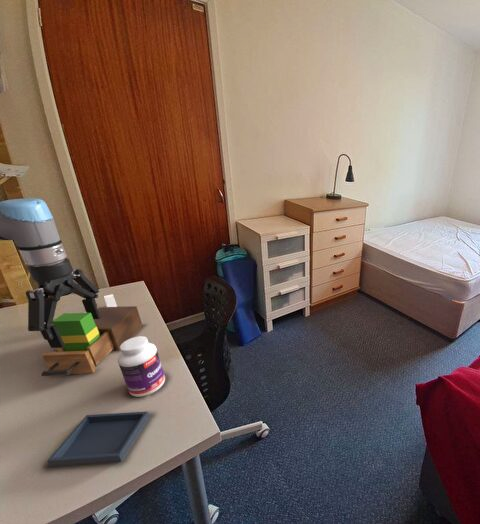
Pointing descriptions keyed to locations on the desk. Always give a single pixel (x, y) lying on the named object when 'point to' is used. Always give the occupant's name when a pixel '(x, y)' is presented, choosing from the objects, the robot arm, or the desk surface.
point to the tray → (100, 439)
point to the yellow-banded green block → (76, 330)
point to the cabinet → (119, 323)
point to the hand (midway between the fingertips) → (78, 331)
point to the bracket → (110, 301)
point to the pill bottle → (140, 366)
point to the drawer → (78, 357)
